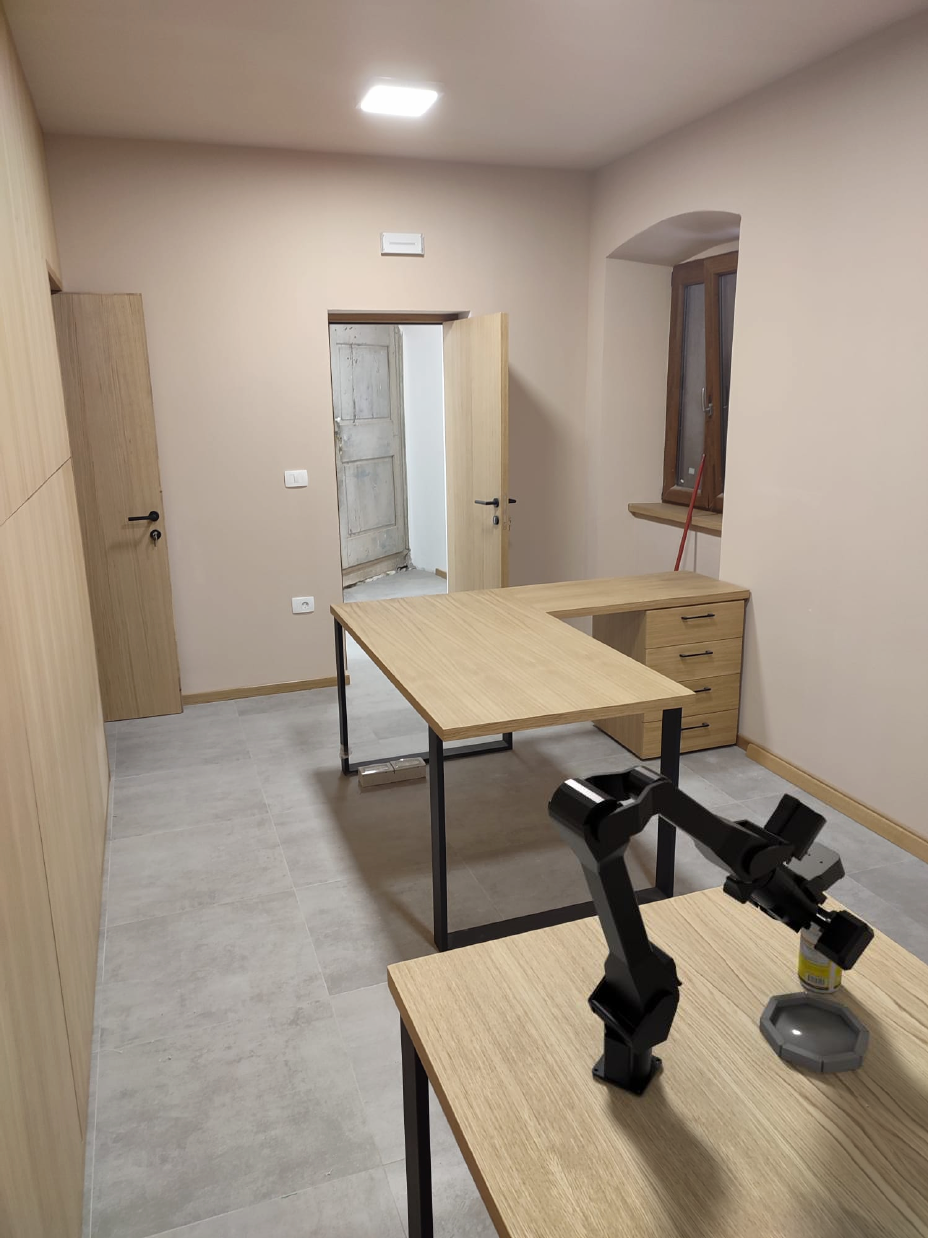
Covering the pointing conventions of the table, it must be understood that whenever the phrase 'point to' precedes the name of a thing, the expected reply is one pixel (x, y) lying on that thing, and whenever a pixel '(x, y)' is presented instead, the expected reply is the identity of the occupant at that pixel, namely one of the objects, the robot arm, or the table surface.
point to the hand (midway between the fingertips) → (829, 937)
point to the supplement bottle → (816, 964)
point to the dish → (814, 1032)
